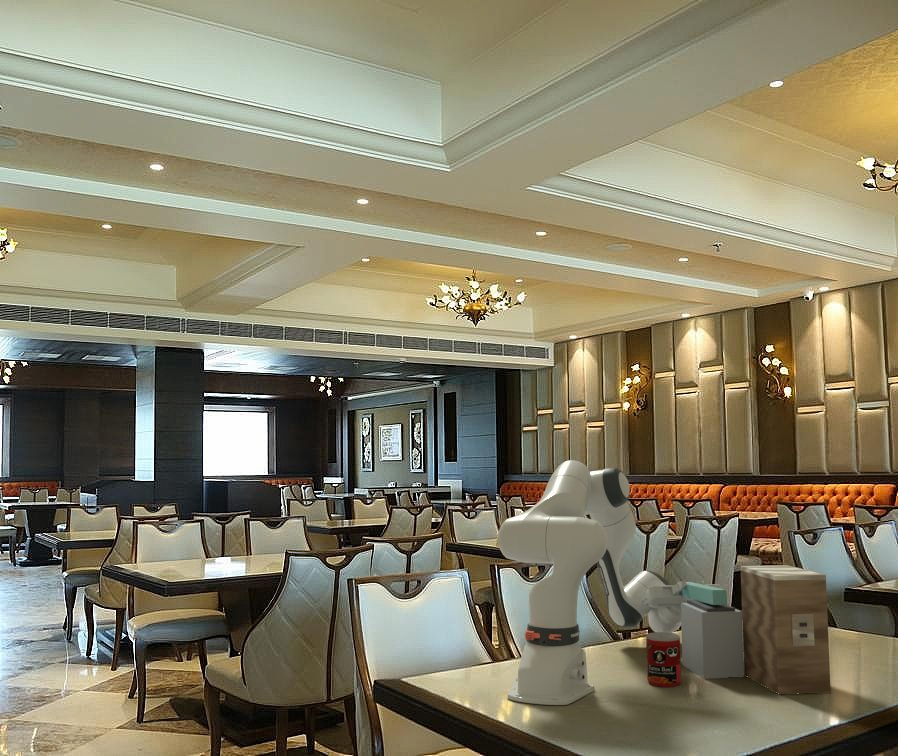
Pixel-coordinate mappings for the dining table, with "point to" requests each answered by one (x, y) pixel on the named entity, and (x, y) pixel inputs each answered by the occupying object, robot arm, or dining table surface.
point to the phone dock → (712, 640)
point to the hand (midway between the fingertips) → (693, 583)
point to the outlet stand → (785, 628)
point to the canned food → (663, 659)
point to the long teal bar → (705, 594)
